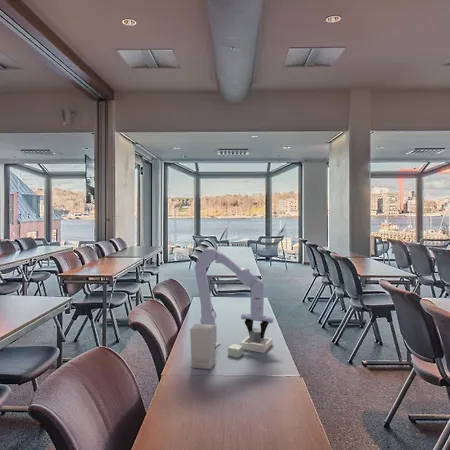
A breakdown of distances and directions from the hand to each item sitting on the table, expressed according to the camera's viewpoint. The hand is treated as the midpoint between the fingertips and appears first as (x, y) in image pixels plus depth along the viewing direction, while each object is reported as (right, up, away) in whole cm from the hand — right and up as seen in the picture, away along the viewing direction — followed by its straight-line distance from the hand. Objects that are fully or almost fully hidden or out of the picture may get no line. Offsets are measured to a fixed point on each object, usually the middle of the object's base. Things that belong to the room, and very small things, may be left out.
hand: (256, 336), depth 167 cm
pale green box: (-10, -5, -9) cm, 14 cm away
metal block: (0, -2, 0) cm, 2 cm away
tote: (0, -4, 0) cm, 4 cm away
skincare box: (-23, -6, -20) cm, 31 cm away
